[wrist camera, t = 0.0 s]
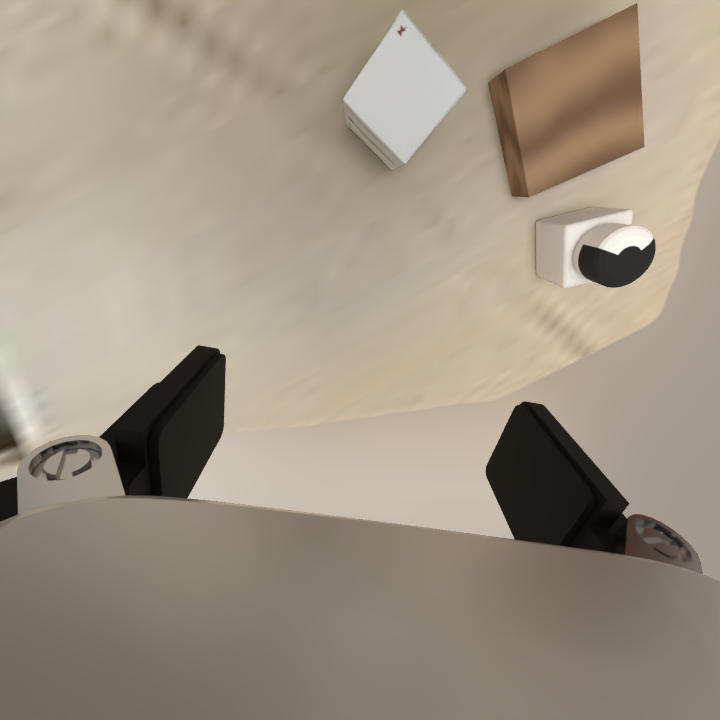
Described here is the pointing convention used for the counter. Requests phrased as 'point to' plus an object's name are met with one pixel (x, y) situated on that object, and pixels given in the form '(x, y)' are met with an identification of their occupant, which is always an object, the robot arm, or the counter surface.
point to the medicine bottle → (592, 248)
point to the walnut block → (571, 105)
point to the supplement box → (401, 93)
